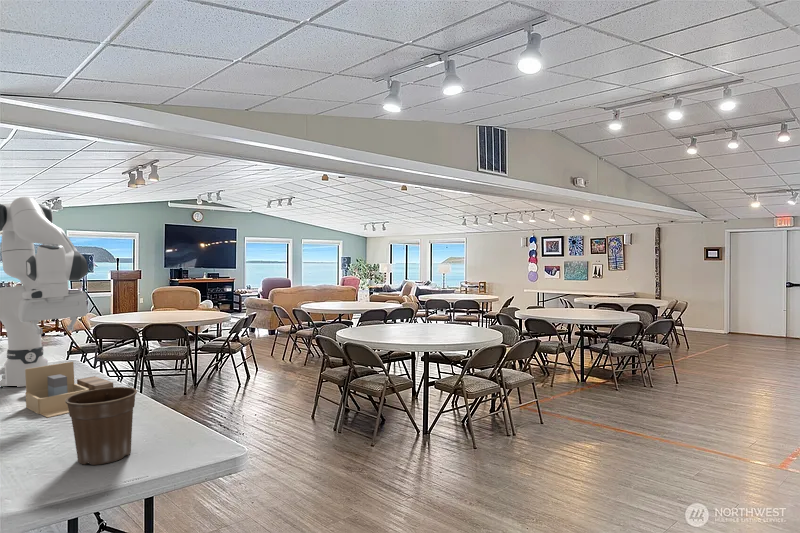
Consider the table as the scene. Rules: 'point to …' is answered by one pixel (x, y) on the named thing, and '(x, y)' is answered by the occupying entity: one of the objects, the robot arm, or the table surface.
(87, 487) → the table surface
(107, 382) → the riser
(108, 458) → the plant pot
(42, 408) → the light wooden open box
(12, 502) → the table surface
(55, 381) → the blue-grey rectangular block
